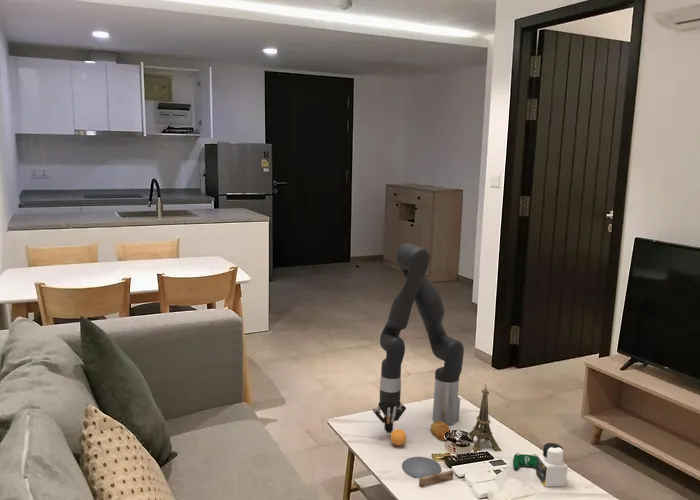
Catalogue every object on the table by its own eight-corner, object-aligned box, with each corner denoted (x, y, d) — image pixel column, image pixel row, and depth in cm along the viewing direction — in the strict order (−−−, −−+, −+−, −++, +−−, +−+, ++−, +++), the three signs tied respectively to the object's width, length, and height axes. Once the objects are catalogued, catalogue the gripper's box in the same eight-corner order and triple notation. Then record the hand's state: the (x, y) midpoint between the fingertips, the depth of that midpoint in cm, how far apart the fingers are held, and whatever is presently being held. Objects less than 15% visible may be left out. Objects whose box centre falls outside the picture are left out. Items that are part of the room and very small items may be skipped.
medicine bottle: (535, 474, 193) (538, 440, 191) (556, 473, 194) (559, 440, 192) (544, 487, 186) (547, 452, 184) (566, 486, 187) (569, 451, 185)
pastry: (454, 441, 214) (454, 431, 213) (436, 442, 213) (436, 432, 212) (445, 429, 223) (446, 419, 222) (428, 430, 222) (429, 420, 221)
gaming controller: (540, 474, 197) (538, 456, 200) (542, 471, 194) (541, 453, 197) (512, 472, 198) (510, 454, 201) (514, 469, 195) (512, 451, 198)
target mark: (427, 454, 204) (428, 453, 204) (449, 473, 192) (449, 473, 192) (394, 461, 199) (394, 461, 199) (414, 482, 187) (414, 481, 187)
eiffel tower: (501, 451, 208) (507, 384, 203) (473, 453, 205) (478, 386, 201) (489, 436, 218) (493, 372, 213) (462, 438, 216) (466, 374, 211)
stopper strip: (451, 477, 190) (451, 470, 190) (452, 478, 190) (453, 471, 189) (419, 485, 186) (419, 478, 185) (420, 487, 185) (421, 479, 184)
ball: (401, 439, 214) (401, 425, 213) (409, 446, 209) (409, 432, 208) (387, 442, 211) (388, 427, 210) (395, 450, 206) (395, 435, 205)
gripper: (402, 380, 219) (400, 424, 222) (369, 385, 214) (367, 429, 217) (411, 388, 212) (409, 433, 215) (378, 394, 207) (376, 439, 210)
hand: (388, 431), depth 216 cm, fingers closed
